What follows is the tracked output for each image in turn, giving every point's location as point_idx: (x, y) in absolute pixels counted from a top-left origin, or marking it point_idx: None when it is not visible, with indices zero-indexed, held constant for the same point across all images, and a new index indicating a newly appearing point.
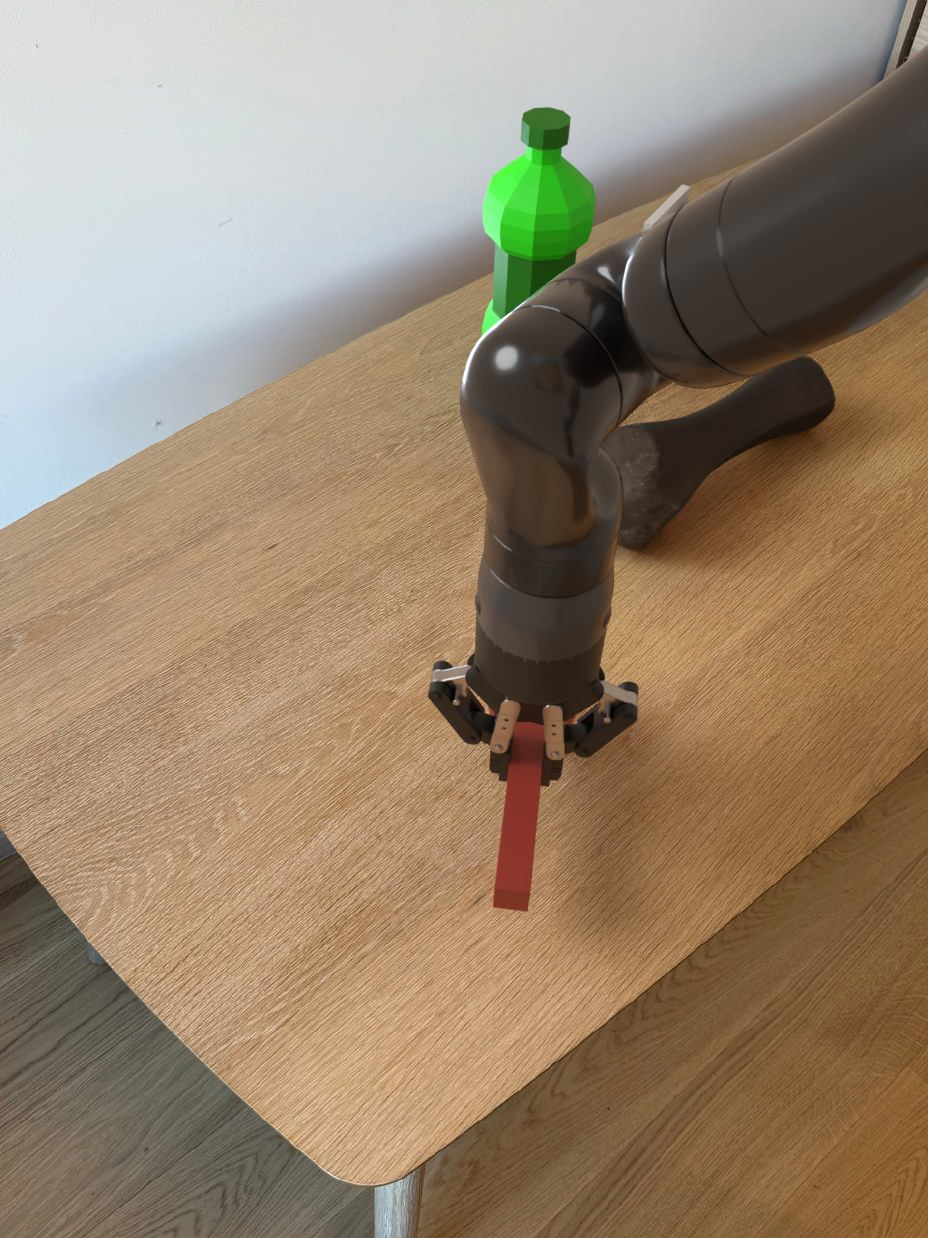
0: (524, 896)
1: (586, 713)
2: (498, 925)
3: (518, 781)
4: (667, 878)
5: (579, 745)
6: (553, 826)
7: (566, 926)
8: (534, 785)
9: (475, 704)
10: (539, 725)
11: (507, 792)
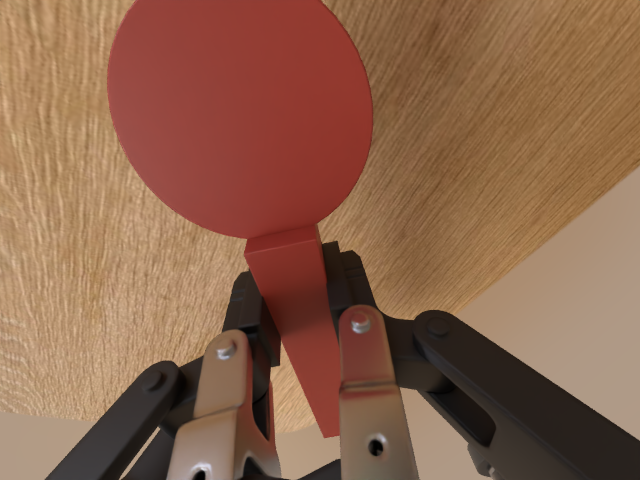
0: None
1: (456, 376)
2: None
3: (306, 353)
4: (478, 239)
5: (430, 403)
6: (344, 225)
7: (378, 307)
8: (333, 351)
9: (142, 441)
10: (305, 258)
11: (296, 370)
